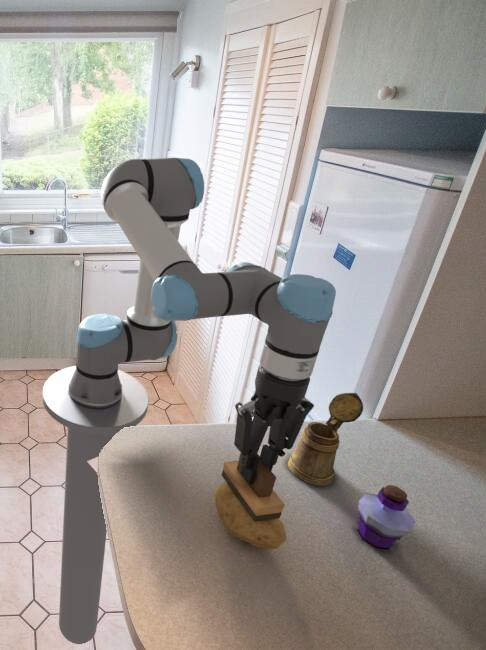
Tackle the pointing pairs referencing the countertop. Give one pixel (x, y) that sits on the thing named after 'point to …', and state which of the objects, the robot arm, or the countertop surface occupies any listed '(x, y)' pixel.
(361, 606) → the countertop surface
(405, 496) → the potion bottle
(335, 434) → the wooden mug
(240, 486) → the brush
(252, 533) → the potato
